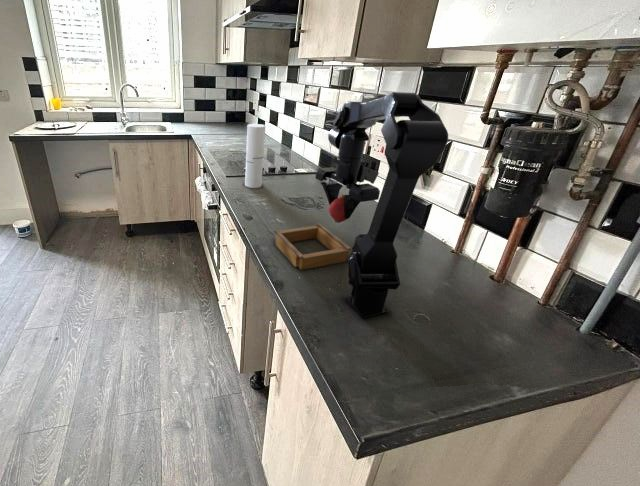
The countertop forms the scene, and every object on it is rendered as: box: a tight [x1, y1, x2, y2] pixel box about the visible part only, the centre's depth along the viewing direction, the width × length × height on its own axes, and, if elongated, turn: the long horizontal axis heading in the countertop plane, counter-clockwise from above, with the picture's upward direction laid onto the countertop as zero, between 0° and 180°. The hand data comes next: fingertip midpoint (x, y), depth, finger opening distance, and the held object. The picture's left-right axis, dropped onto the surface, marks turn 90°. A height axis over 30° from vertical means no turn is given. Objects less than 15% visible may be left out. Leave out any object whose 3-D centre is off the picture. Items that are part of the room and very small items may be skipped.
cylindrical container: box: [244, 123, 266, 189], centre depth 133 cm, size 7×7×25 cm
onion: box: [328, 194, 348, 224], centre depth 85 cm, size 6×6×8 cm
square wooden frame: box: [273, 222, 352, 271], centre depth 89 cm, size 15×15×4 cm
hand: (339, 213), depth 86 cm, fingers closed on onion, 6 cm apart
